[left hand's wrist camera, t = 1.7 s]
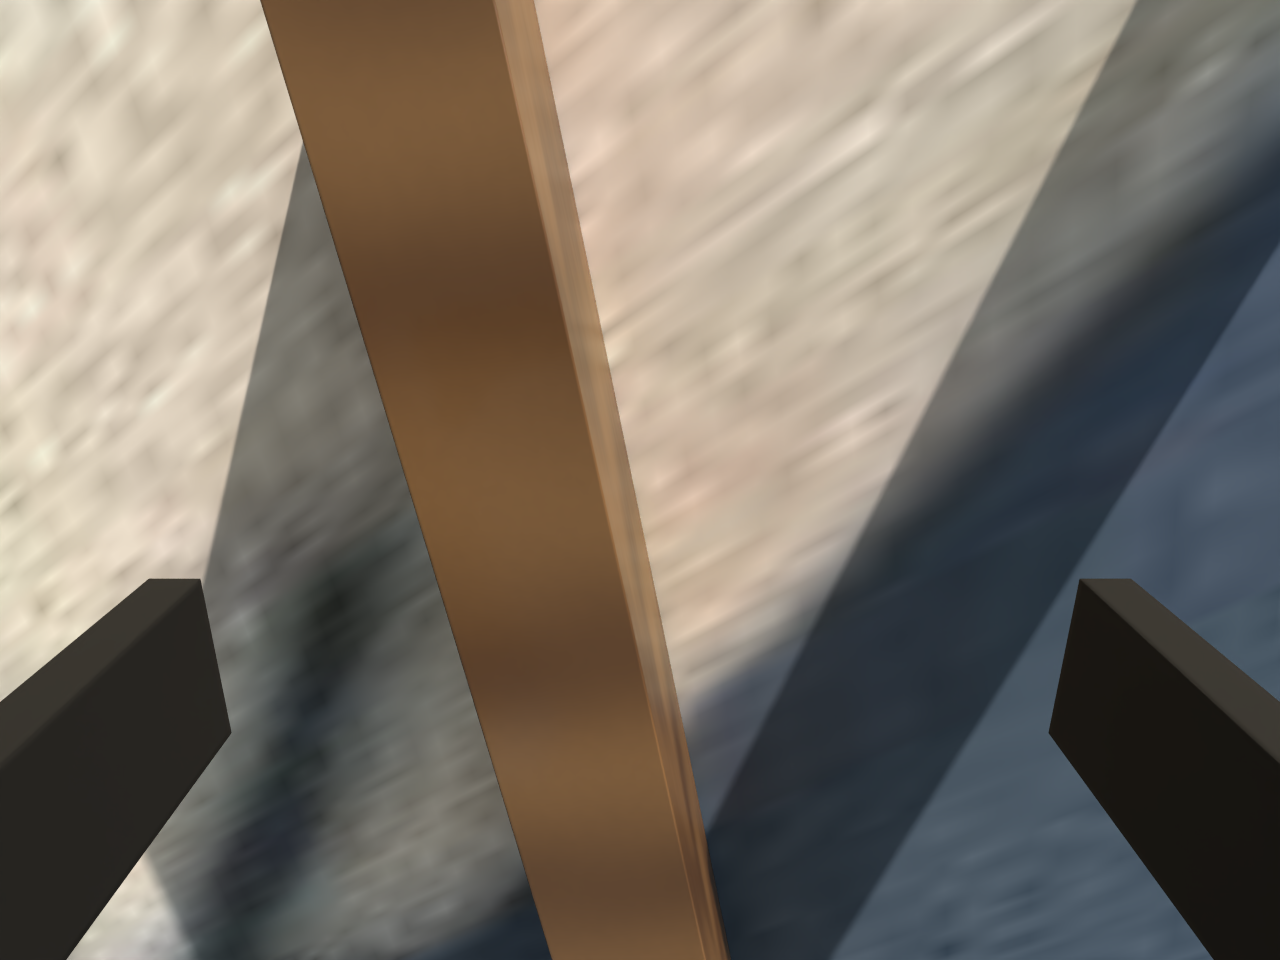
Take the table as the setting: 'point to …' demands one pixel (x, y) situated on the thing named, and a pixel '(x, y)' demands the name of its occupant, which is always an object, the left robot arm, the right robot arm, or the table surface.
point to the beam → (510, 446)
